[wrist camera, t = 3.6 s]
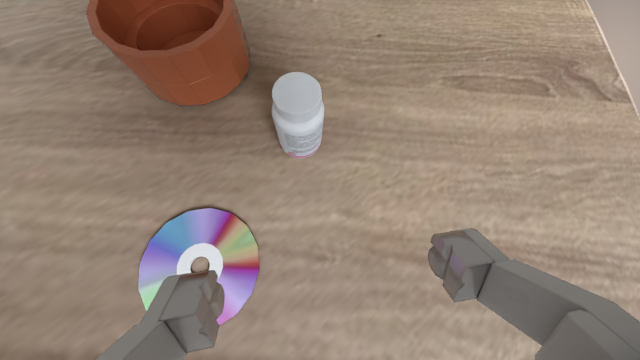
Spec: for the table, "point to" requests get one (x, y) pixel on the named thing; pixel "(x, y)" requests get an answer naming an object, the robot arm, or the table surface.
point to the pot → (176, 45)
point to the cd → (203, 255)
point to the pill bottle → (298, 113)
